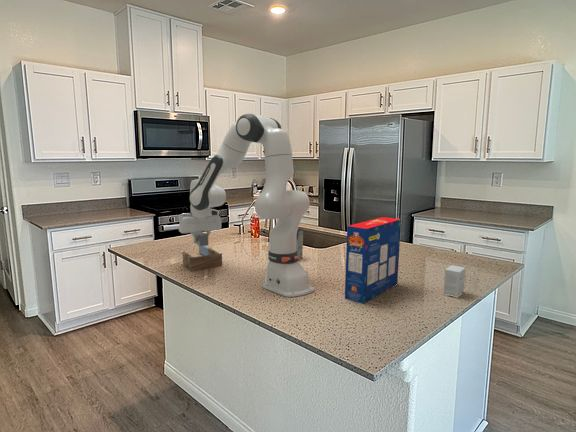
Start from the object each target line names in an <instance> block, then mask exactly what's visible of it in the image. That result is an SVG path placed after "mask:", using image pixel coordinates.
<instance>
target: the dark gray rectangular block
mask: <svg viewBox="0 0 576 432" xmlns="http://www.w3.org/2000/svg"><path fill="white" fill-rule="evenodd" d="M194 236H195V237H197V240H198V241H193V243H194V244H196V245H198V247H199V246H209V236H208V235H207V233H206V232H204V231H202V232H195V235H194Z"/></svg>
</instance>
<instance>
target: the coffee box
mask: <svg viewBox="0 0 576 432" xmlns="http://www.w3.org/2000/svg"><path fill="white" fill-rule="evenodd" d="M303 242H304V228H300V227H298V230H297V238H296V251H297V254H298V256H299V257H298V258H299V261H301V260H302V259H303V255H304V254H303V247H304V246H303V244H304V243H303ZM301 258H302V259H301ZM300 259H301V260H300Z"/></svg>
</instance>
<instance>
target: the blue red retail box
mask: <svg viewBox="0 0 576 432" xmlns="http://www.w3.org/2000/svg"><path fill="white" fill-rule="evenodd" d="M401 226H402V219H401V218H396V217H395V218H394V217H386V216H382V217H378V218H377V217H376V218H373V219H369V220H365V221H362V222H361V221H360V222H358V223H354V224H350V225H347V227H346V250H345V251H346V253H345V254H346V255H345V280H344V281H345V282H344V285H345V286H344V299H346V300H349V301H352V302H355V303H358V304H361V305H362V304H363V305H364V304H366V303H368V302H369V300H370V301H372V300H374V299H375V298H376V296H377V297H378V296H380V295H382V294H384V293H385V292H387V291H389V290H391V289H393V288H394V287H396V286H397V285H398V278H399V261H400V244H401V243H400V242H401ZM396 284H397V285H396ZM395 285H396V286H395ZM393 286H394V287H393ZM392 287H393V288H392ZM390 288H391V289H390ZM388 289H389V290H388ZM386 290H387V291H386ZM383 292H384V293H383ZM381 293H382V294H381ZM374 297H375V298H374Z"/></svg>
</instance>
